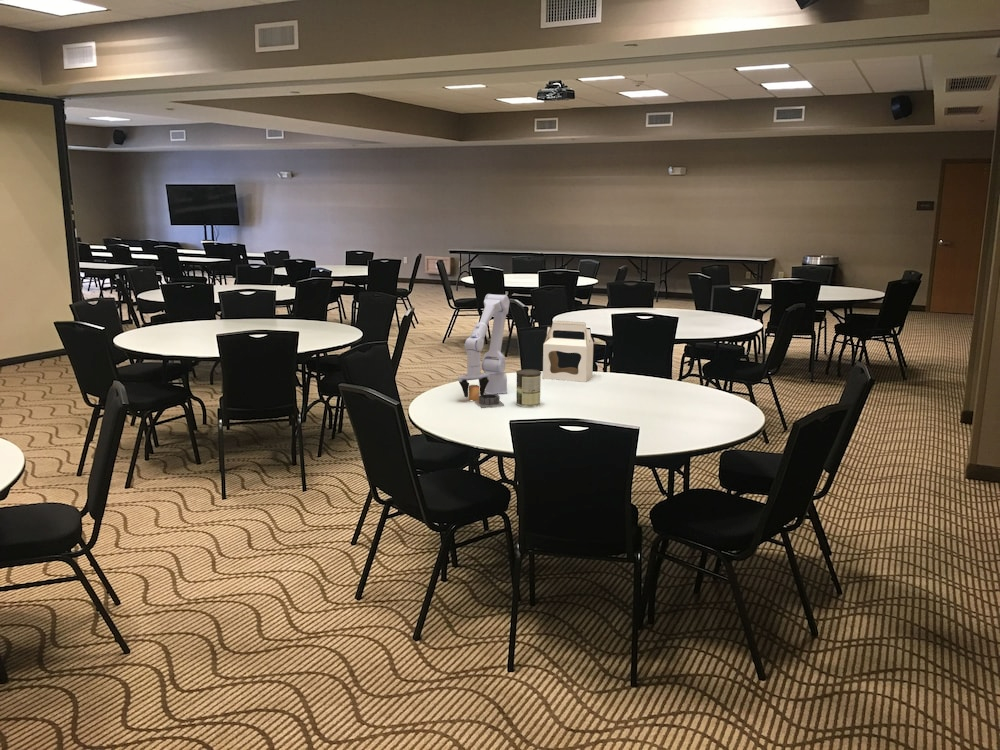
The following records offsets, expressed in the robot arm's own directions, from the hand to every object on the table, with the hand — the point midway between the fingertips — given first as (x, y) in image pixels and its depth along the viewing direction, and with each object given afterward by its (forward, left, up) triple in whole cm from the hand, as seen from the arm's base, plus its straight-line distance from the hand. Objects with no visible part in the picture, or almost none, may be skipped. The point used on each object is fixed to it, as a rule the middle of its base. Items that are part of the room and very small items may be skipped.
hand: (474, 396), depth 332 cm
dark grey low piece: (-4, +10, -2) cm, 11 cm away
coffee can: (-20, +14, -2) cm, 24 cm away
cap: (0, 0, -2) cm, 2 cm away
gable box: (-57, -32, -2) cm, 65 cm away
